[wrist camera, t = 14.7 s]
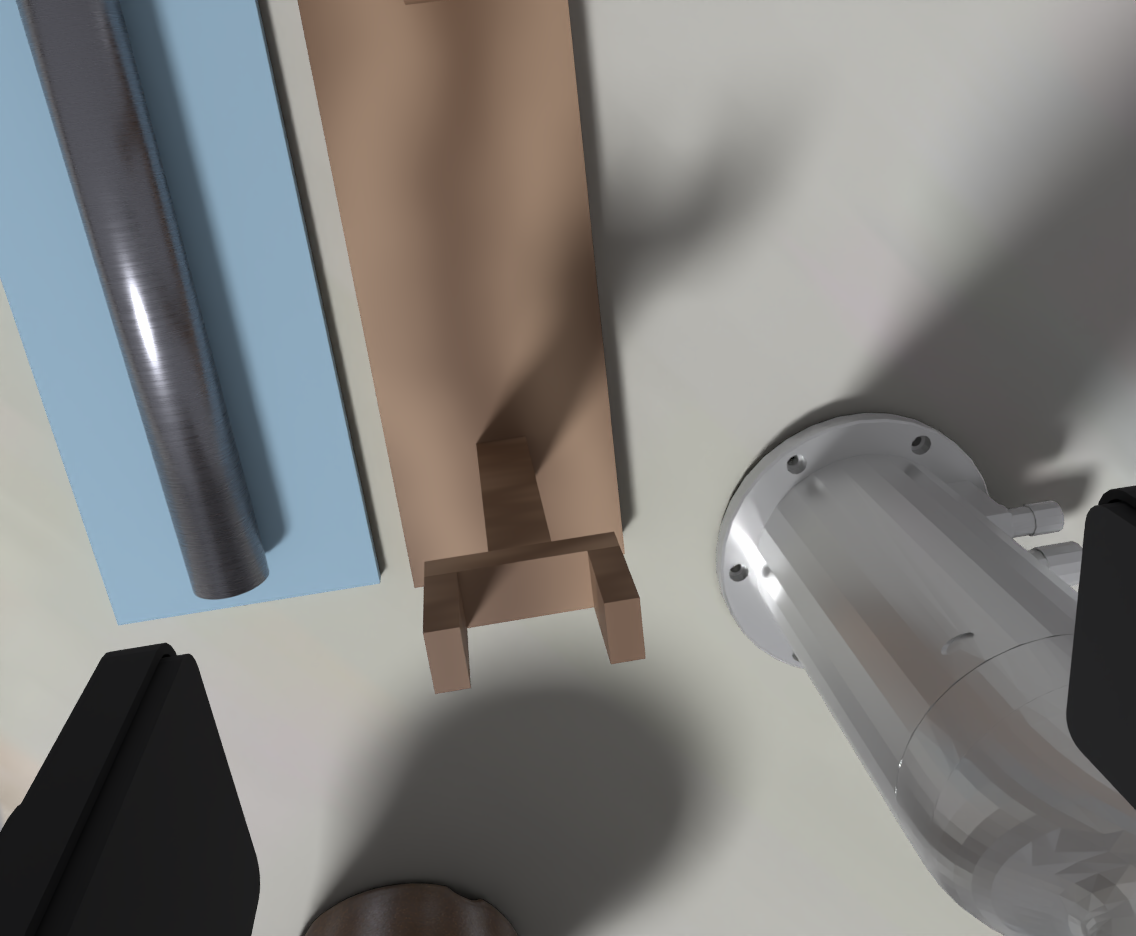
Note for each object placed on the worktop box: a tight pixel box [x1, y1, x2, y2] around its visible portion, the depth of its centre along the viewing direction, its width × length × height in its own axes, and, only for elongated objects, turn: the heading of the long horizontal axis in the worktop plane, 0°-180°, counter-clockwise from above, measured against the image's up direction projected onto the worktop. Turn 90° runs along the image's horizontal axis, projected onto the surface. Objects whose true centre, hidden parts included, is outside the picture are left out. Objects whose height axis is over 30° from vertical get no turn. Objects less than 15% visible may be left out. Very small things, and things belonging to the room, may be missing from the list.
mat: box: [0, 0, 381, 625], centre depth 36 cm, size 11×32×1 cm, turn 6°
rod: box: [16, 0, 269, 600], centre depth 35 cm, size 28×3×3 cm, turn 6°
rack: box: [298, 0, 645, 694], centre depth 31 cm, size 9×28×15 cm, turn 7°
